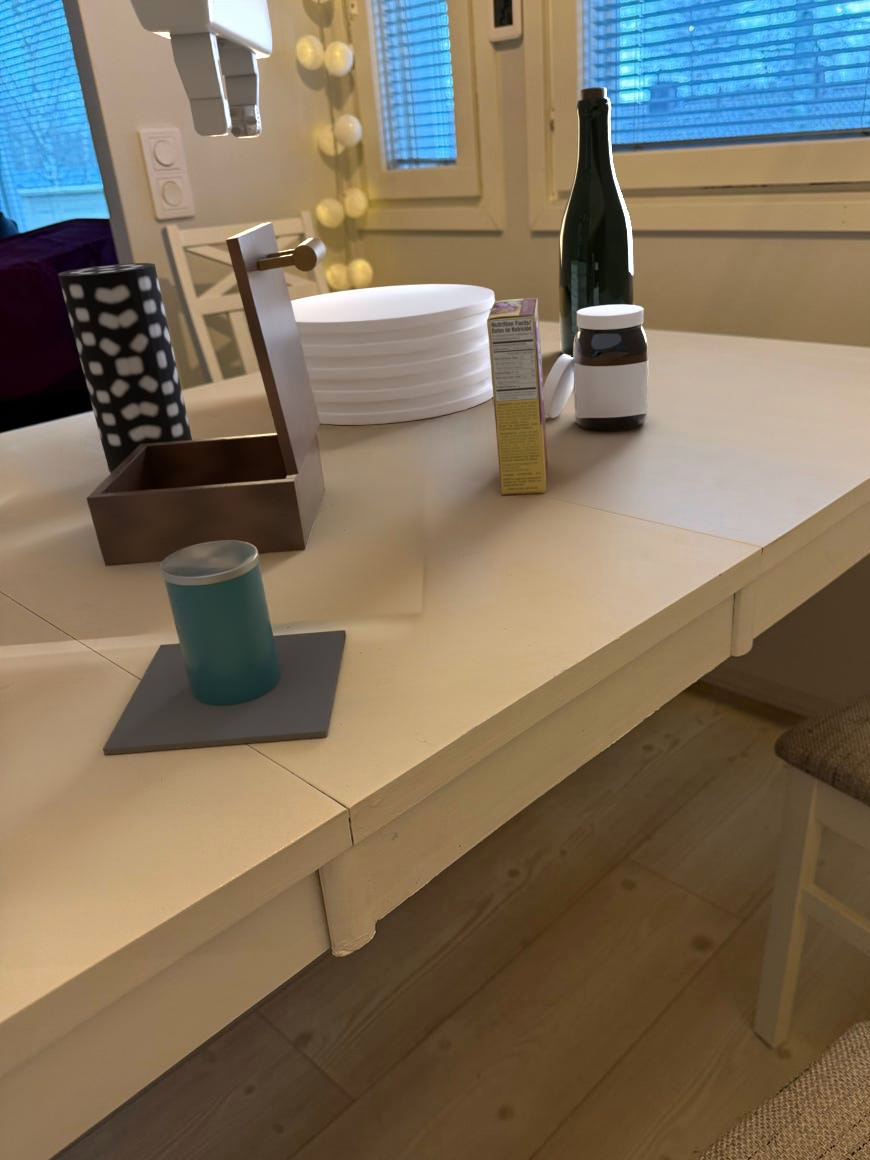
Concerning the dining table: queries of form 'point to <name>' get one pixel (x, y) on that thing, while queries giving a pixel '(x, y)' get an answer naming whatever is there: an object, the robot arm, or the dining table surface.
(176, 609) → the can
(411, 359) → the plate stack
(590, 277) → the dark green wine bottle
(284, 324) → the lid
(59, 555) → the dining table surface
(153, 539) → the storage box
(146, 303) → the spotted tube
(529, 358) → the candy box
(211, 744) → the mat
